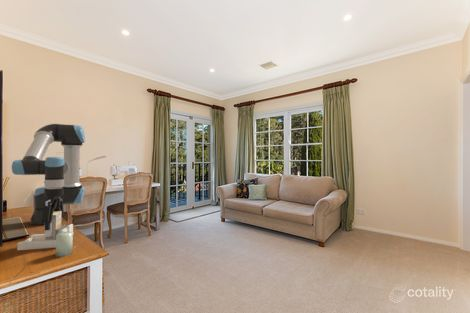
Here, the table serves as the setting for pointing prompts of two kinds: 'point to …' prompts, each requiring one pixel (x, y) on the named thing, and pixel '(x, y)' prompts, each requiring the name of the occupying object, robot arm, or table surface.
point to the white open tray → (40, 241)
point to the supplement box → (55, 224)
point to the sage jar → (64, 243)
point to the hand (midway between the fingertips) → (53, 233)
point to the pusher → (60, 230)
